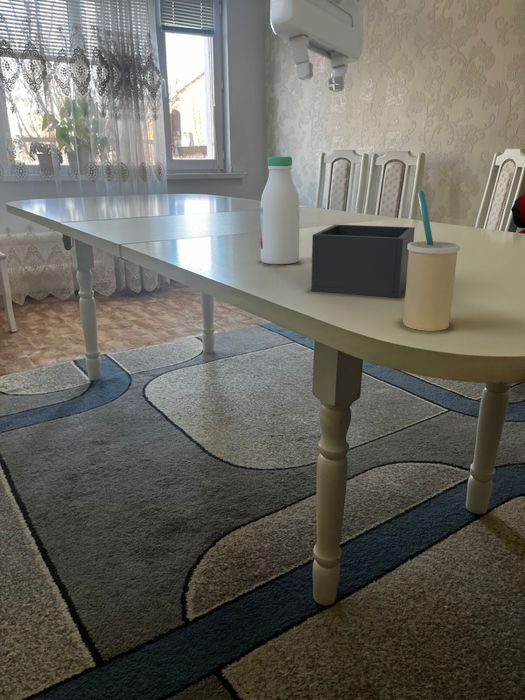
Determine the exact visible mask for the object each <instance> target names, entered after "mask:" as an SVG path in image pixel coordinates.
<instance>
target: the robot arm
mask: <svg viewBox="0 0 525 700" xmlns="http://www.w3.org/2000/svg"><path fill="white" fill-rule="evenodd" d="M362 1H363V0H269V10H270V11H269V21H270V26H271V28H272V31H273V34H275V36H278V37H280V38H283V39H285V40H287V41H289V42H288V43H289V51H290V54H291V56H292V59H293V62H294V65H295V77H296V78H297V79H299V80H302V81H307V80H311V79H312V78H313V77H314V73H313V72H314V71H313V70H314V64H313V63H312V62H311V60H310V56H309V52H308V51H310V52H312V53H314V54H316V55H318V56H320V57H322V58H325V59H327V60H329V61H330V68H331V69H332V70H331V76H330V77H329V78H328V89H329V91H331V92H333V93H340V92H343V91H344V89H345V77H346V75H347V74H346V73H347V70H348V66H349V64H352V63H355V62H358V61H360V58H361V55H362V51H363V32H364V31H363V29H364V26H363V25H364V23H363V9H362V6H361V2H362Z"/></svg>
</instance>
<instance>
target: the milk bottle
mask: <svg viewBox="0 0 525 700" xmlns="http://www.w3.org/2000/svg"><path fill="white" fill-rule="evenodd" d="M292 166H293V158H292V156H269V157H268V158H267V169H268V177H267V181H266V184H265V186H264V189H263V192H262V194H261V198H260V212H259V214H260V216H259V219H260V225H259V226H260V230H259V231H260V260H261V263H264V264H267V265H291V264H295V263H298V262H299V260H300V199H299V195H298V191H297V188H296V186H295V184H294V181H293V177H292V173H291V170H292V169H293V167H292Z"/></svg>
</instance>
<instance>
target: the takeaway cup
mask: <svg viewBox="0 0 525 700" xmlns="http://www.w3.org/2000/svg"><path fill="white" fill-rule="evenodd" d="M417 196H418V201H419V202H418V203H419V206H420V212H421V218H422V223H423V224H422V225H423V229H424V234H425V240H417V241H414V242H411V243H408V247H407V249H408V250H409V255H408V268H407V280H406V287H405V293H404V306H403V319H402V324H403V326H405V327H407V328H409V329H414V330H418V331H425V332H427V331H428V332H437V331H444V330H447V329H448V328H449V327H450V322H451V311H452V303H453V294H454V287H455V286H454V284H455V276H456V267H457V259H458V252H460V247H461V246H460V244H458V243H454V242H448V241H439V240H438V241H437V240H434V239H433V234H432V229H431V224H430V218H429V217H430V216H429V212H428V206H427V201H426V195H425V192H424V191H423V190H419V191H418V193H417Z"/></svg>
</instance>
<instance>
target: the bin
mask: <svg viewBox="0 0 525 700" xmlns="http://www.w3.org/2000/svg"><path fill="white" fill-rule="evenodd" d="M415 230H416V229H415V227H414V226H392V225H391V226H390V225H389V226H387V225H363V224H361V225H360V224H337V223H335V224H333V225H331V226H328V227H327V228H324V229H322V230H320V231H317V232H316V233H313V234H312V238H311V239H312V240H311V241H312V242H311V243H312V244H311V284H310V285H311V289H310V291H311V292H319V293H320V292H321V293H331V294H346V295H357V296H369V297H381V298H392V299H393V298H395V299H399V298H400V296H401V295H402V293H403V292H404V290H405V289H406V280H407V268H408V255H409V250H408V249H407V247H408V243H411V242H415Z"/></svg>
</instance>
